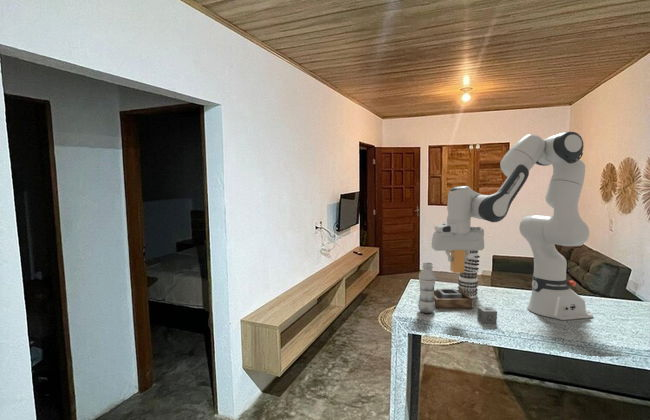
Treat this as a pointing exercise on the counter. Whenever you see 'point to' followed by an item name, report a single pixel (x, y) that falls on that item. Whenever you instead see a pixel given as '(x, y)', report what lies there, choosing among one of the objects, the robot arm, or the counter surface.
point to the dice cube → (487, 315)
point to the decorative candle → (470, 275)
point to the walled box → (451, 299)
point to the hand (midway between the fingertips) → (457, 261)
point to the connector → (457, 261)
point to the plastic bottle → (427, 289)
